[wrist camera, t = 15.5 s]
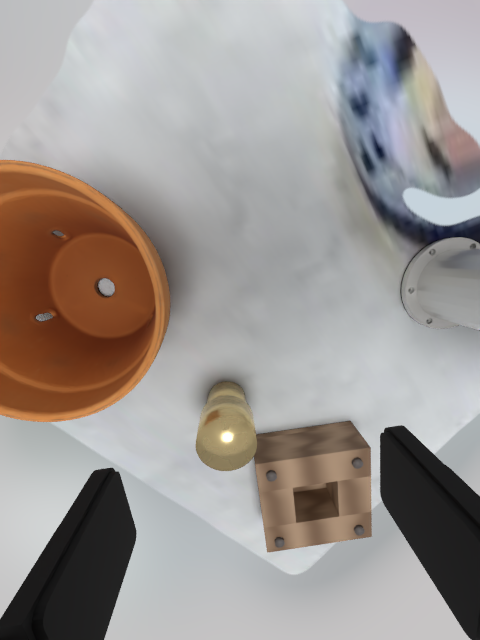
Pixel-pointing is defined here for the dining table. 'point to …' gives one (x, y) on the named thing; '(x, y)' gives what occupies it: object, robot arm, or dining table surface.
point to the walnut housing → (314, 485)
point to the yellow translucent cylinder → (226, 429)
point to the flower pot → (72, 297)
